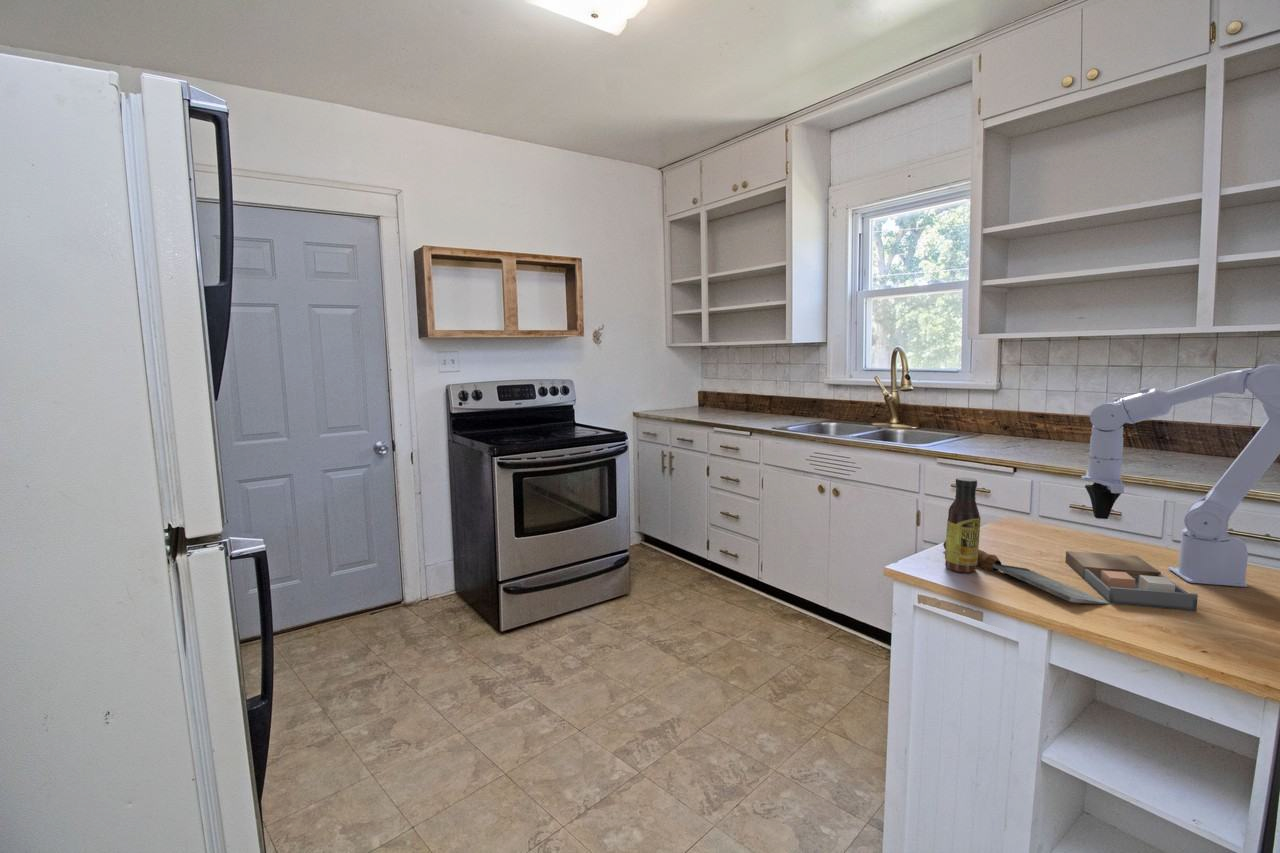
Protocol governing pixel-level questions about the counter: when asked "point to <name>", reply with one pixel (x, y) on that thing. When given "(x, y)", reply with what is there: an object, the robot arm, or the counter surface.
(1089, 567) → the walnut board
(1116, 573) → the peach matte cube
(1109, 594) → the charcoal tray
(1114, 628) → the counter surface
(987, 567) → the meat cleaver
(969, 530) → the sauce bottle
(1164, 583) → the pale grey cube
